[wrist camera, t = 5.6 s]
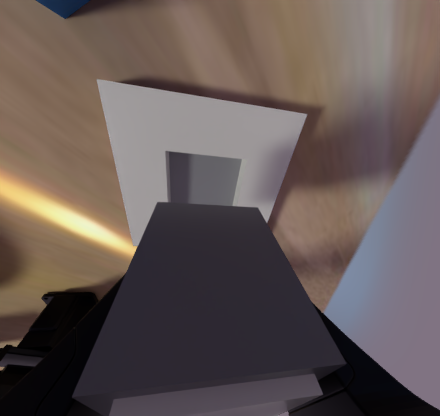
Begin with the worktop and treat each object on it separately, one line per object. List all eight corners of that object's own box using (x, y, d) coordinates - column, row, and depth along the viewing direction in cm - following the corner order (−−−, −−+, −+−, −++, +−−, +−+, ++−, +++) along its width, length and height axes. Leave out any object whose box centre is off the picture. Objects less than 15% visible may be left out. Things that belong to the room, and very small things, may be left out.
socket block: (253, 236, 21) (258, 247, 19) (139, 233, 19) (133, 245, 17) (293, 112, 13) (307, 114, 12) (112, 82, 11) (96, 79, 9)
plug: (239, 268, 11) (275, 420, 6) (163, 269, 10) (124, 446, 5) (257, 207, 8) (358, 384, 3) (157, 201, 7) (57, 429, 2)
